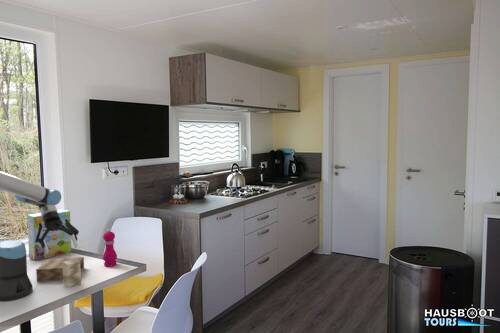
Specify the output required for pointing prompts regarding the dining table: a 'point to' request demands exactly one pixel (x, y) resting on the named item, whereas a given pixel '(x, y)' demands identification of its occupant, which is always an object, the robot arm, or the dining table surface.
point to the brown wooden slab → (54, 269)
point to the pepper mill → (109, 249)
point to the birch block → (71, 273)
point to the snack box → (48, 237)
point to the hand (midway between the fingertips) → (62, 249)
